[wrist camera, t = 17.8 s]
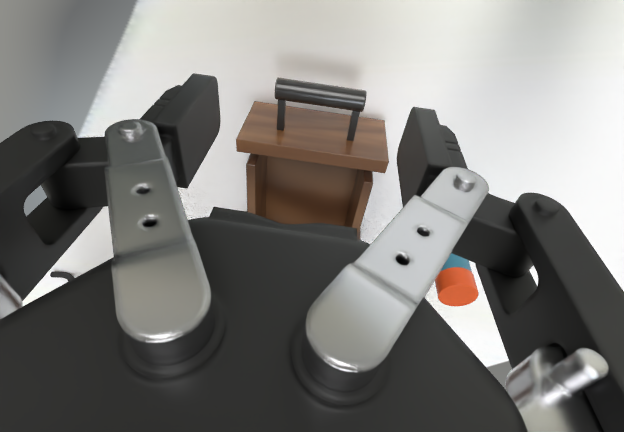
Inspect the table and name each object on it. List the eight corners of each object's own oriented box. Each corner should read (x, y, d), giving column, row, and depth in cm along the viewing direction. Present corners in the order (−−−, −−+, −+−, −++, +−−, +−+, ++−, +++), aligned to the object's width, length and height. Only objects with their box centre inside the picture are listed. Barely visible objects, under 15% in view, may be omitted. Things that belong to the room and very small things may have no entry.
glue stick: (417, 217, 42) (432, 303, 34) (427, 195, 40) (446, 282, 31) (446, 221, 42) (468, 308, 34) (458, 199, 40) (485, 287, 31)
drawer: (253, 53, 30) (233, 87, 25) (397, 74, 30) (404, 112, 25) (255, 229, 45) (242, 271, 40) (350, 243, 45) (349, 286, 40)
